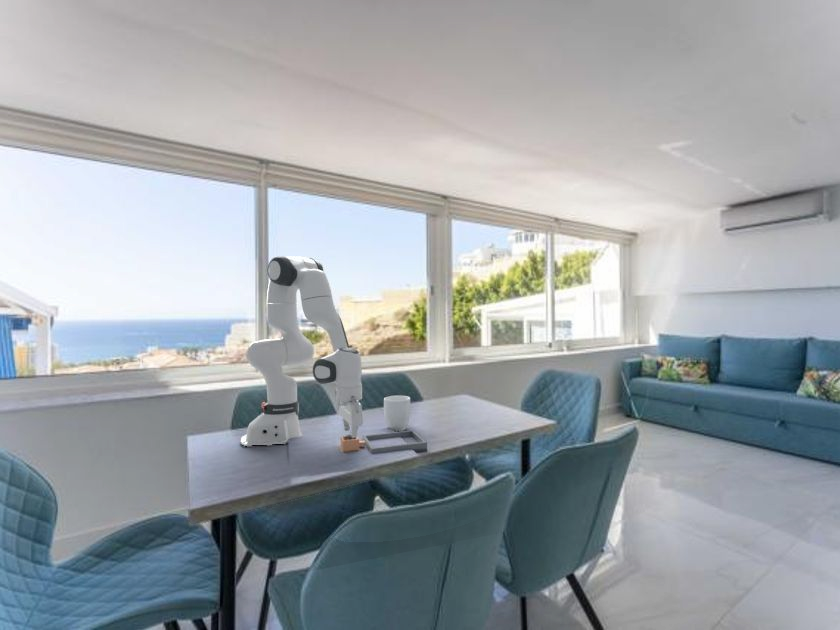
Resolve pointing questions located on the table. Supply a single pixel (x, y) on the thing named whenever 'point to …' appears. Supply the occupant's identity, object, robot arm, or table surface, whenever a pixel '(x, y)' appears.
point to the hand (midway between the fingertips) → (350, 433)
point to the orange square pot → (348, 439)
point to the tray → (408, 436)
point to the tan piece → (351, 444)
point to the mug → (397, 412)
